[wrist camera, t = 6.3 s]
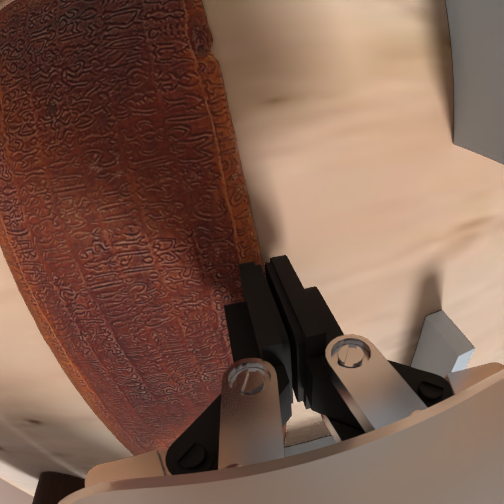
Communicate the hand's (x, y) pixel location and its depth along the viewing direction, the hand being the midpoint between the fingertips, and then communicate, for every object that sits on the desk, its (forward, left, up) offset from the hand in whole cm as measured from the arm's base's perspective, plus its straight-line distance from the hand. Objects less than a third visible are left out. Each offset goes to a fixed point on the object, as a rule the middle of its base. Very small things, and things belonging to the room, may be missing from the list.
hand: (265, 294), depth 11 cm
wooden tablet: (+5, +1, -2) cm, 5 cm away
